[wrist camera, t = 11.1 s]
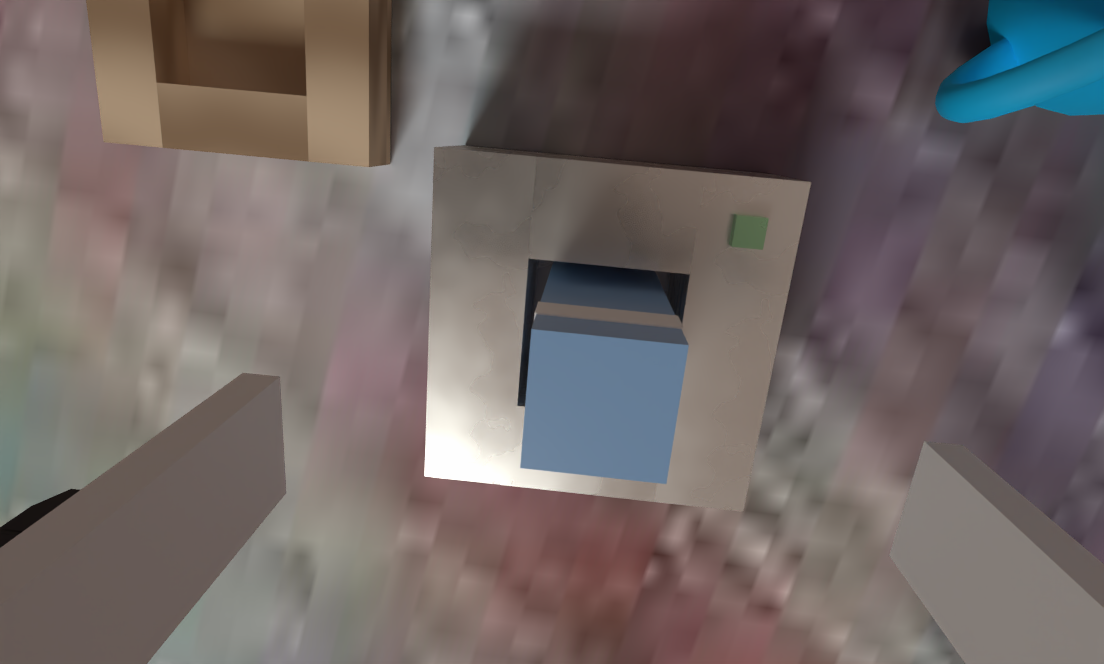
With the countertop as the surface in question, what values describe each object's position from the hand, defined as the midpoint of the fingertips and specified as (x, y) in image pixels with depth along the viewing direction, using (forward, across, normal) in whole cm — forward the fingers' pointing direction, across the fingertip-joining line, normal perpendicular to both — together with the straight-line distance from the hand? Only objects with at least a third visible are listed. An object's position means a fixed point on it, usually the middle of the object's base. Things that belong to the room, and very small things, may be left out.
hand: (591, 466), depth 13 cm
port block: (+14, 0, 0) cm, 14 cm away
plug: (+14, 0, 0) cm, 14 cm away
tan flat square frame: (+14, -14, +10) cm, 22 cm away
